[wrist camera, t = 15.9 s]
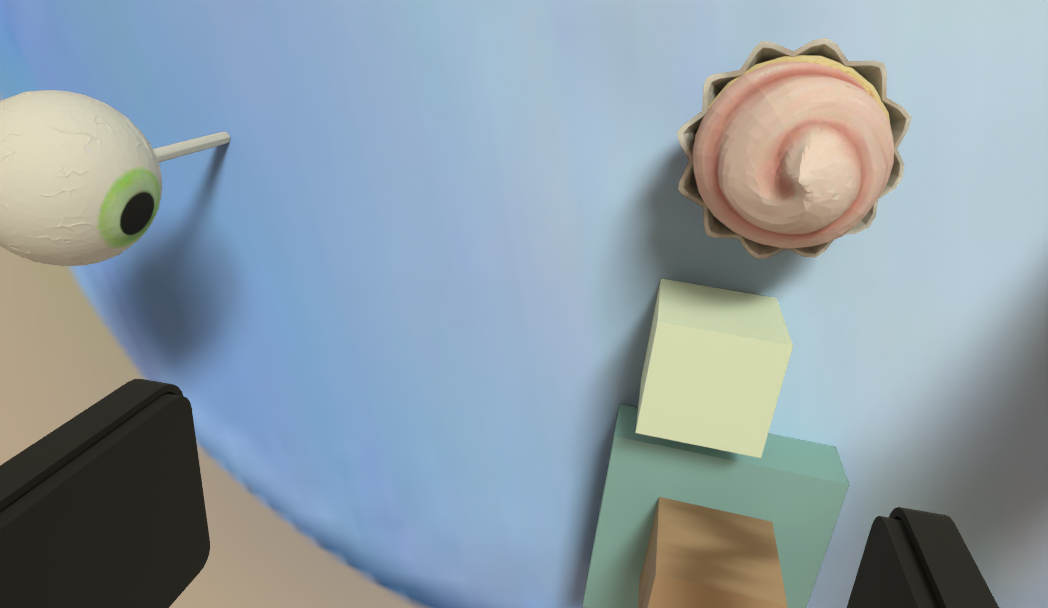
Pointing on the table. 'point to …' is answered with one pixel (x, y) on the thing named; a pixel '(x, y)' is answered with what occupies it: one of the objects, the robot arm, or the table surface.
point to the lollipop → (77, 177)
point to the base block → (713, 504)
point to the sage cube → (713, 367)
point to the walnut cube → (710, 560)
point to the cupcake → (793, 149)
